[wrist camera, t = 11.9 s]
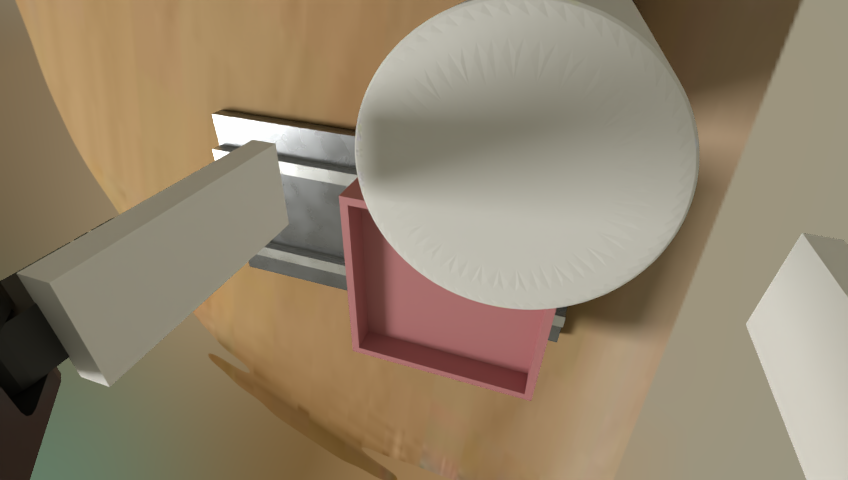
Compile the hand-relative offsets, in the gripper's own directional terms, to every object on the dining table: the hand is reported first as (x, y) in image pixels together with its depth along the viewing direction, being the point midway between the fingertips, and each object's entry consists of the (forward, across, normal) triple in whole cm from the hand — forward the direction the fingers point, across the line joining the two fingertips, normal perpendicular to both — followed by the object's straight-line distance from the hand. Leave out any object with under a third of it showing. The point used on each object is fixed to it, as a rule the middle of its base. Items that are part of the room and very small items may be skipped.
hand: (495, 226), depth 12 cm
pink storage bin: (+20, -4, -16) cm, 25 cm away
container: (+22, 0, 0) cm, 22 cm away
